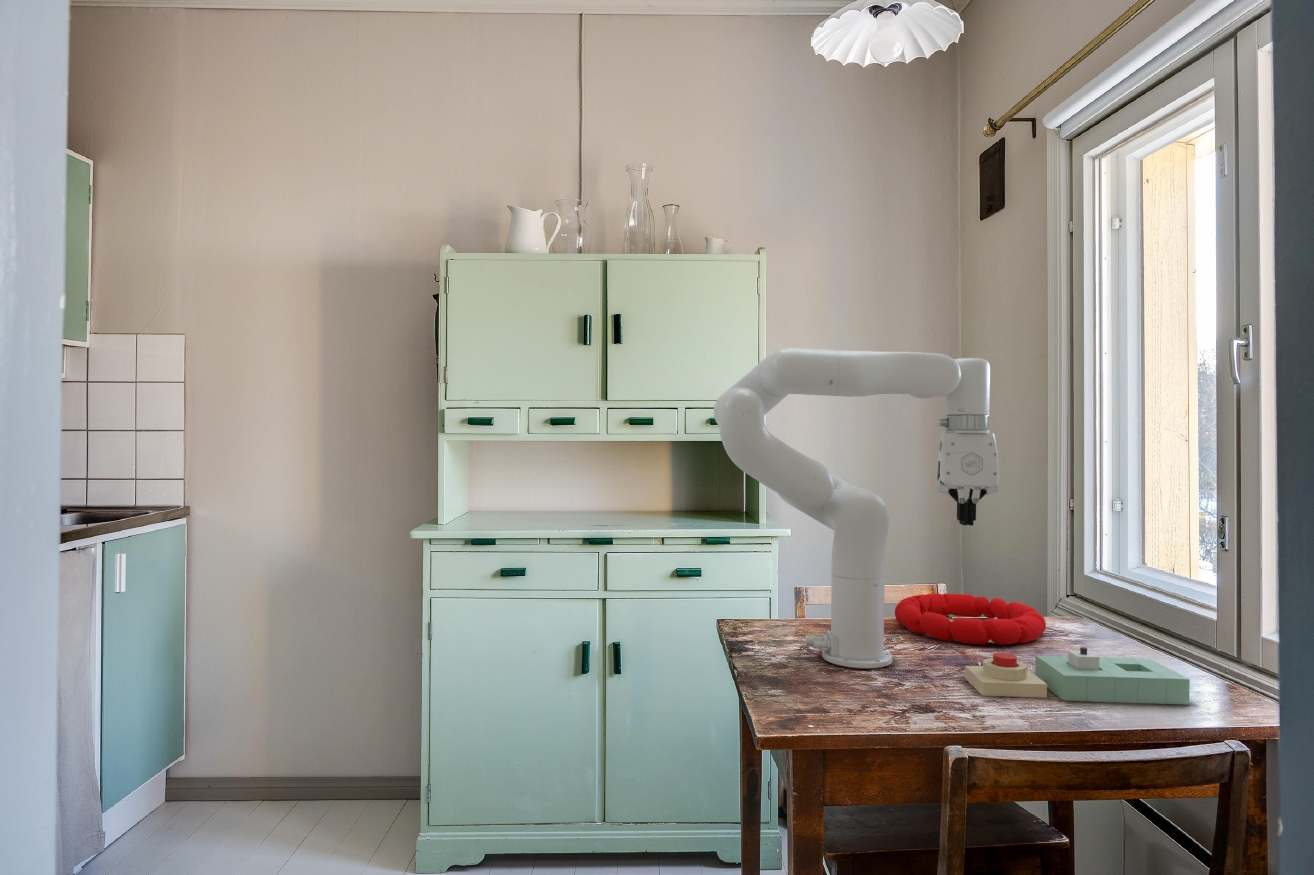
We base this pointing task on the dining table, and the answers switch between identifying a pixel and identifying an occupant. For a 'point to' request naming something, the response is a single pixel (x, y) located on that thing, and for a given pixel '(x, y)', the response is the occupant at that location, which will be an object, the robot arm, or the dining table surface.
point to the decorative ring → (970, 619)
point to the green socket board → (1114, 681)
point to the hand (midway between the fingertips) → (966, 524)
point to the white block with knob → (1083, 659)
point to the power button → (1005, 660)
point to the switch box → (1005, 680)
